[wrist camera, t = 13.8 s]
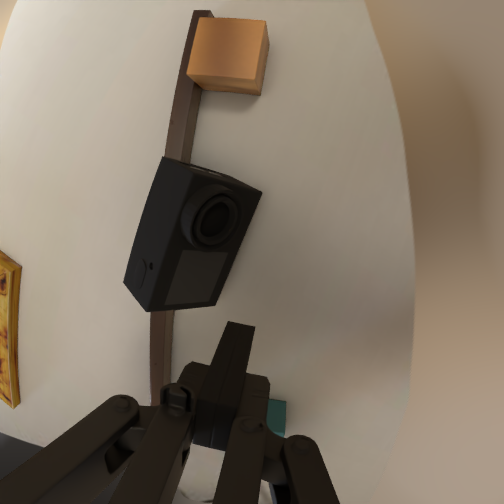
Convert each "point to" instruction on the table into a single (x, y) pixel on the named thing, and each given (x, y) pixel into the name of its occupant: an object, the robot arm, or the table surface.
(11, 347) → the picture frame
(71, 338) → the table surface
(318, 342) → the table surface
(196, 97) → the rail
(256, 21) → the oak block
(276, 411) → the teal block
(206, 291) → the digital camera
